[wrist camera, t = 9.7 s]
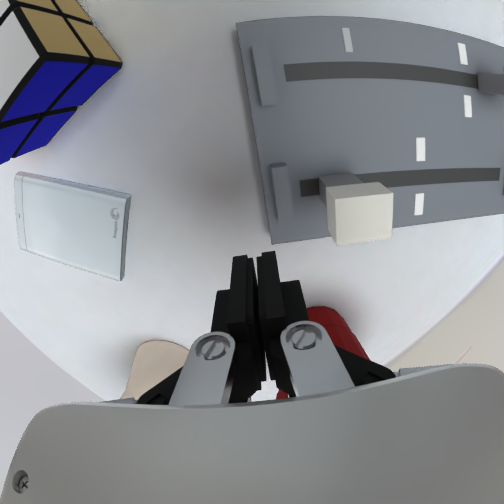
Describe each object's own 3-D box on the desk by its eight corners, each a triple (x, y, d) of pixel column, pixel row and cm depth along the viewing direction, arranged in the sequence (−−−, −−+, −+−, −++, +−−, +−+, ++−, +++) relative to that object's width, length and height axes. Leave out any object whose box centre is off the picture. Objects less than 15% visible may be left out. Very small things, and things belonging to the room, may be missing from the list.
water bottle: (174, 318, 28) (117, 613, 4) (230, 366, 32) (220, 613, 8) (116, 351, 31) (52, 570, 7) (169, 390, 35) (138, 590, 10)
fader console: (237, 29, 16) (234, 18, 13) (497, 50, 15) (520, 50, 12) (270, 232, 24) (272, 252, 21) (497, 205, 22) (516, 217, 19)
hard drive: (126, 199, 21) (13, 174, 20) (120, 283, 25) (18, 251, 23) (133, 192, 23) (23, 169, 21) (126, 273, 27) (27, 243, 25)
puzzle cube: (46, 147, 20) (-36, 185, 11) (2, 74, 16) (-77, 88, 7) (126, 65, 17) (46, 55, 9) (72, -7, 13) (-4, -33, 4)
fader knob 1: (311, 169, 19) (334, 199, 14) (356, 165, 19) (393, 193, 14) (314, 205, 21) (336, 246, 15) (357, 200, 20) (391, 238, 15)
